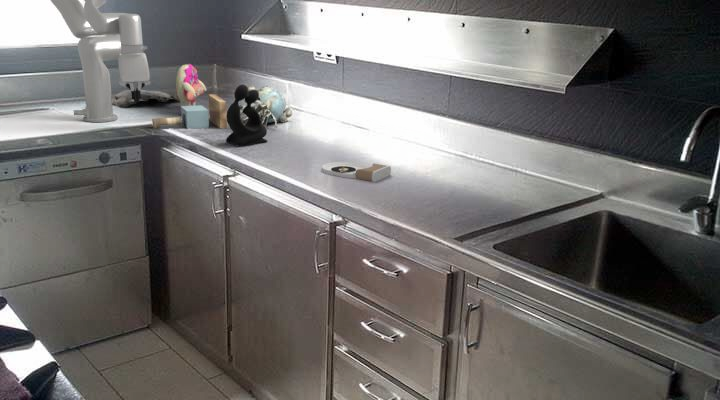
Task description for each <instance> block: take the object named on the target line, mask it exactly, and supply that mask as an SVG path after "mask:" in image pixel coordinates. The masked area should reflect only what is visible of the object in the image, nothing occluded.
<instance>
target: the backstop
mask: <svg viewBox="0 0 720 400" xmlns="http://www.w3.org/2000/svg"><path fill="white" fill-rule="evenodd" d="M208 106H209V107H208V108H209V109H208V115H209V121H211V122H212V123H213V124H214V125H215V126H216V127H218V128H219V129H221V130H223V129H224V130H225V129H228V122H227V101H226V100H224V99H223V98H221V97H220V96H218V95H217V94H215V93H213V94H211V93H210V94H208Z"/></svg>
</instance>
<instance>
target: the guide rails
mask: <svg viewBox="0 0 720 400" xmlns="http://www.w3.org/2000/svg"><path fill="white" fill-rule="evenodd" d="M181 123H182V121H181ZM169 128H174V129H185V128H186V124H185V125H184V124H176V125H159V128H158V129H159V130H170V129H169Z"/></svg>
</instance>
